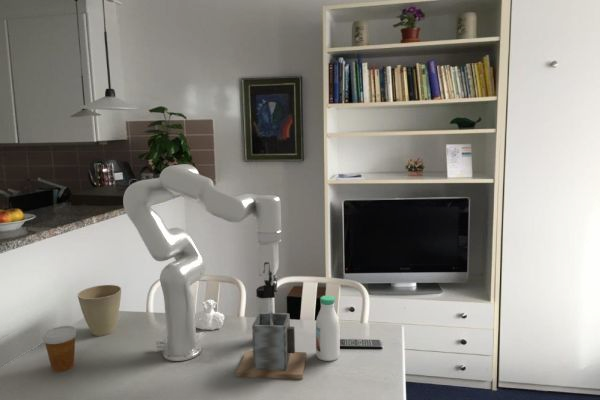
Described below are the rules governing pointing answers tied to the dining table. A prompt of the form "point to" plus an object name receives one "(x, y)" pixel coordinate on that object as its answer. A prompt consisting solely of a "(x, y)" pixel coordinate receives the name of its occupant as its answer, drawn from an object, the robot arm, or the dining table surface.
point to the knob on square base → (272, 303)
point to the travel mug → (263, 301)
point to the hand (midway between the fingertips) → (270, 294)
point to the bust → (209, 317)
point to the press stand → (272, 350)
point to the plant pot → (100, 308)
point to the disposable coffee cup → (60, 347)
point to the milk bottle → (327, 331)
